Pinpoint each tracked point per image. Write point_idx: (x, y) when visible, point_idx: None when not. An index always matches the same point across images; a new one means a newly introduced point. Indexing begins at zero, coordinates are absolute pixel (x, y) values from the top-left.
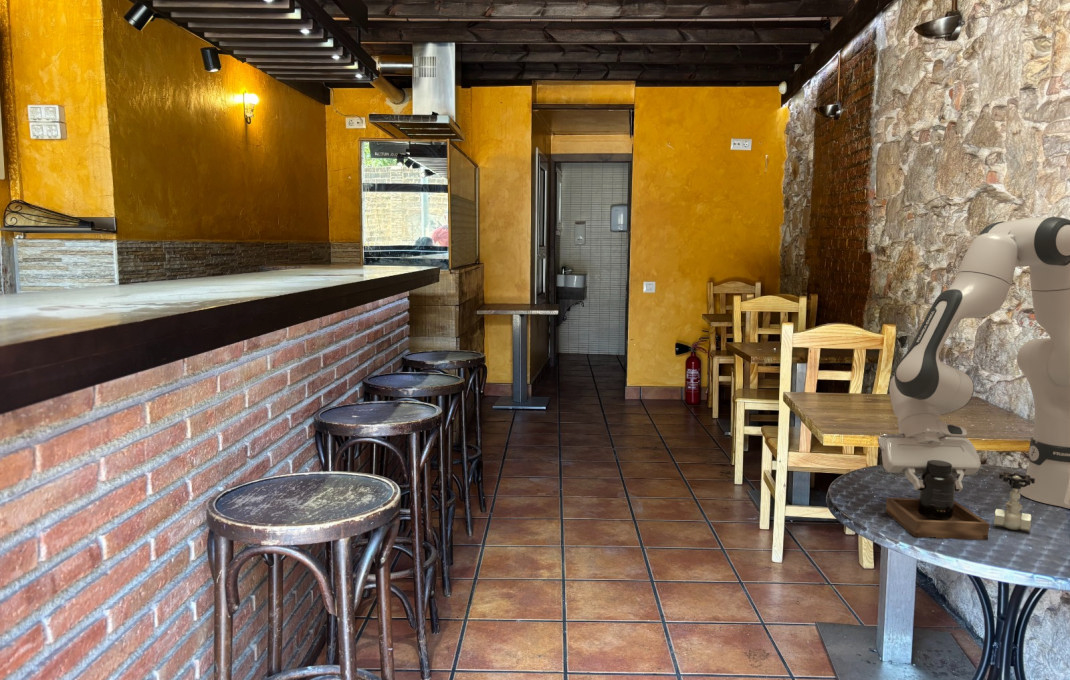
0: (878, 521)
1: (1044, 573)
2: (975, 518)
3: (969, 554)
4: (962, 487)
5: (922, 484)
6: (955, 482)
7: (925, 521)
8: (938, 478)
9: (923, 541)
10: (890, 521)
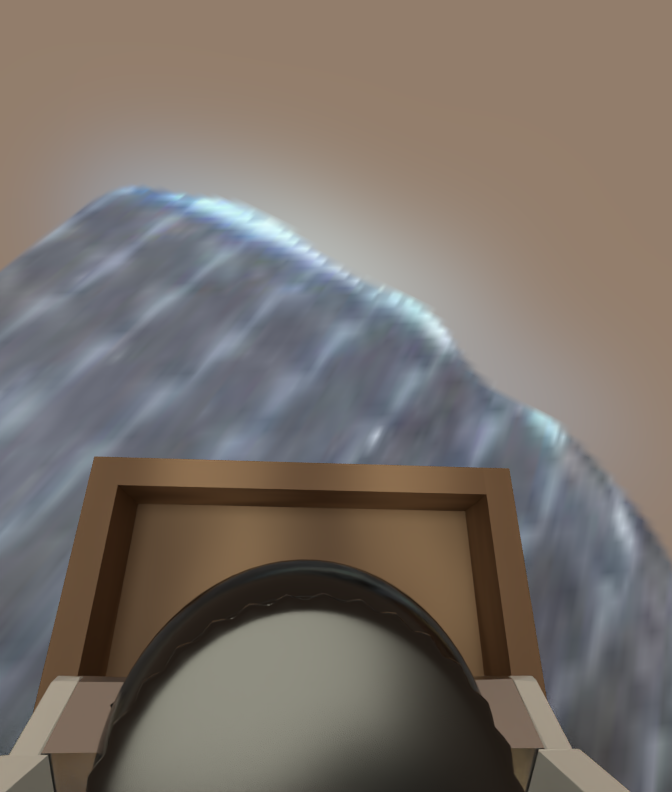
0: (618, 744)
1: (147, 205)
2: (104, 560)
3: (318, 331)
4: (60, 676)
5: (490, 694)
6: (139, 658)
7: (457, 471)
8: (373, 605)
9: (453, 450)
10: None
